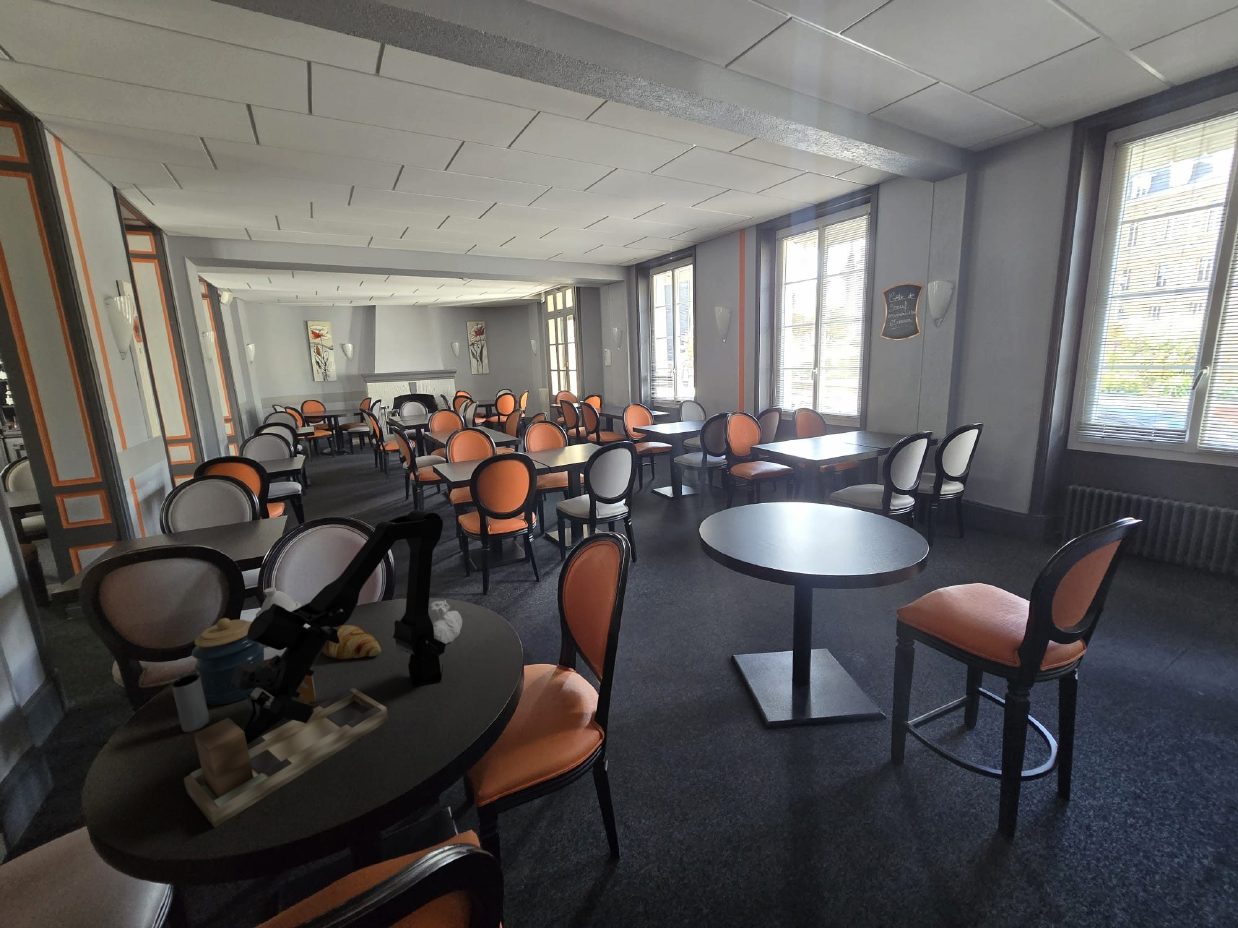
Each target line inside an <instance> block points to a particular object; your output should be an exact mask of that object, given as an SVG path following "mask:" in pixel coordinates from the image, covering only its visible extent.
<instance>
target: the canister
mask: <svg viewBox="0 0 1238 928" xmlns="http://www.w3.org/2000/svg"><path fill="white" fill-rule="evenodd" d="M251 623H252V620H251V621H249V620H245V619H231V620H230V618H227V617H223V618H220V619H219V620H218V621H217V622H216V624H214V625H212V626H209V627H208V628H207V629H205V630H203V631H202V633H200V634H199V635H198V636H197V637H196V638H195V640H194V645H195V647H194V648H193V649H192V651H191V656H192V657H193V658H194V659H196V660H195V661H196V663H195V665H194V669H195V671H196V673H197V675H199V676H200V679H201V684H202V688H203V693H204V697H205V701H206V705H210V706H223V705H228V704H229V705H230V704H233V703H236V702H238V701H241V700H244V699H247V698H246V694H247V695H251V694H252V692H253V691H254V689H253V688H250V689H249V690H241V689H238V688H237V686H236V685H235V684H232V683H231V681H232V678H233V675H234V672H235V668H236V665H237V664H239V663H264V645H263V644H260V643H257V642H254V641H252V640H249V639H248V637H247V633H248V629H249V627H250V625H251Z"/></svg>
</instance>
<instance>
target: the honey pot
mask: <svg viewBox="0 0 1238 928" xmlns="http://www.w3.org/2000/svg"><path fill="white" fill-rule="evenodd" d="M263 592H264V594H265V595H266V597H265V599H264V601H263V603H262V605H261V608H260V610H258V611H257V612H256V614H255V617H258V616H259V615H260V614H261V613H262V612H263V611H265V610H267V609H269V608H270V607H271V605H272V604H274V603H275V604H277V605H279V606H281V607H283V608H285V609H286V610H288V611H290V612H291V611H293V610H295V609H297V608H299V607H301V606H302V605H301V602H300V601H297V600H293V599H292V598H291V597H290V596H289V595H288V594H287V593H285V592H283V591H281V590H277V587H268V588H266V589H264V590H263ZM304 627H306V628H308V627H310V625H308V624H305V625H304ZM267 647H268V646H265V645H264V648H267Z"/></svg>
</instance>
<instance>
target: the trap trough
mask: <svg viewBox="0 0 1238 928" xmlns="http://www.w3.org/2000/svg"><path fill="white" fill-rule="evenodd" d="M313 710H314V713H313V715H312V716H311V718H310V720H309V721H308V723H303V722H299V721H295V720H290V721H288V722H286V723H285V724H283V725H281V726H279V727H277V728H275V729H273V730H271V731H270V732H267V733H266V734H265V733H264V735H260V736H259V737H257V738H256V739H255V740H253V741H252V742H251V743H249V744H248V745H247V748H248V752H249V757H250V762H251V767H252V772H253V776H254V778H252V779H250V780H249V781H247V782H245V783H243V784H242V785H240V786H238V787H237V788H235V789H233V790H231V791H230V792H228V793H226V794H225V795H223V796H221V797H219V798H218V799H217V798H216V797H215V795H214V794H213V793H212V792H211V791H210V790H209V788H208V787H207V786H206V785H205V780H204V776H203V772H202V767H200V768H198V769H195V770H194V771H192V772H190V774H189V775H187V776H184V777H183V782H184V786H185V789H186V793H187V795H188V796H189V798H191V800H192V801H193V802H194V803H195V805H196V807H198V809H199V810H200V811H201V813H202V814H203V815H204V816H205V818H206V819H207V820H208V821H209V822H210V825H212V826H213V827H214V829H215V828H217V827H218V826H221V825H222V824H223V823H225V822H226V821H228V820H230V819H232V818H233V817H235V816H237V815H238V814H239V813H241V812H243V811H244V810H245V809H248V808H249V807H251V806H253V805H254V804H256V803H257V802H259V801H260V800H262V799H264V798H266V797H267V796H268V795H270V794H272V793H273V792H275V791H277V790H279V789H280V788H282V787H283V786H285V785H286V784H288V783H289V782H292V781H293V780H294V779H296V778H298V777H300V776H301V775H303V774H304V773H306V772H308V771H309V770H311V769H312V768H314V767H315V766H317V765H319V764H321V763H322V762H324V761H325V760H327V759H329V758H330V757H332V756H334V755H335V754H337V753H338V752H339V751H342V750H344V749H345V748H347V747H348V746H350V745H351V744H353V743H355V742H356V741H357V740H360V739H361V738H362V736H363V737H364V736H367V734H369V733H371V732H372V731H374V730H375V729H377V728H379V727H380V726H382V725H384V724H385V723H387V722H388V721H389V715H388V708H387V707H386V706H385V705H383V704H381V703H380V702H378V701H376V700H374V699H373V698H371V697H369V696H368V695H366V694H365V693H362V691H359V690H357V688H355V687H352V688H350V689H347V690H344V691H343V692H341V693H339V694H337V695H335V696H334V697H332V698H329V699H328V700H326V701H324V702H322V703H320V704H319V705H318V706H316V707H315V708H314V707H313Z"/></svg>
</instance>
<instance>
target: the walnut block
mask: <svg viewBox="0 0 1238 928" xmlns="http://www.w3.org/2000/svg"><path fill="white" fill-rule="evenodd" d="M193 736H194V740H195V745H196V749H197V754H198V758H199V763H200V766H201V767H200V768H202V772H203V776H204V780H205V785H206V786H207V787H208V788H209V790H210V791H211V792H212V793H213V794H214V795H215V797H216V798H217V799H218V798H219V797H221V796H223V795H225V794H226V793H228V792H230V791H231V790H233V789H235V788H237V787H238V786H240V785H242V784H243V783H245V782H247V781H249V780H250V779H252V778H254V776H253V772H252V767H251V762H250V757H249V752H248V748H247V743H246V738H245V733H244V731H243V729H242V728H241V727H240V726H238V724H236V723H235V722H234V721H233V720H232V719H231V718H230V717H226V718H225V719H224V718H223V719H222V720H221V721H218V722H216V723H214V724H212V725H210V726H207V727H205V728H204V729H202V730H200V731H197V732H196V733H194V734H193Z"/></svg>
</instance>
